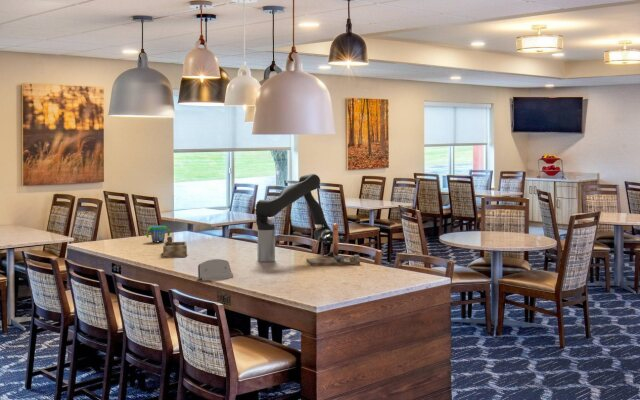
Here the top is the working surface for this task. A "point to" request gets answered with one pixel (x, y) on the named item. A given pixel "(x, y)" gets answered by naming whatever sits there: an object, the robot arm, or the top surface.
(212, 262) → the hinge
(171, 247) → the figurine corral
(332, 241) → the robot arm
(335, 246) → the lever
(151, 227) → the potted plant
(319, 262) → the nutcracker base
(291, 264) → the top surface
